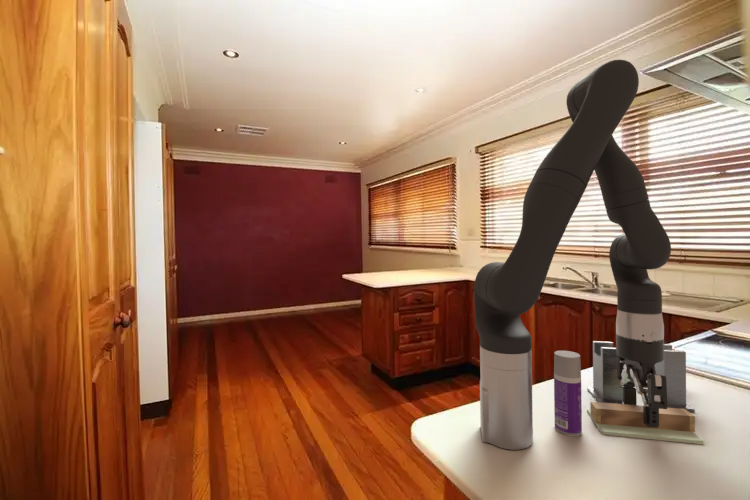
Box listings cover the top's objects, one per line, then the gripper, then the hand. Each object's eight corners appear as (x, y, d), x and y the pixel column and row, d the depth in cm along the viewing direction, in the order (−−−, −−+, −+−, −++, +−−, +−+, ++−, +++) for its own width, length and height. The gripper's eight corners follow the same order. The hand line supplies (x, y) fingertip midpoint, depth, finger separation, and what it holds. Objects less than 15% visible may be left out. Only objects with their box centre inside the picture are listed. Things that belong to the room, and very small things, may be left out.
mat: (603, 434, 67) (603, 431, 67) (586, 412, 75) (586, 409, 75) (703, 444, 63) (703, 440, 63) (674, 419, 71) (674, 416, 71)
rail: (596, 423, 70) (596, 408, 69) (590, 416, 72) (590, 401, 72) (694, 432, 66) (694, 416, 66) (684, 424, 69) (684, 408, 68)
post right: (661, 409, 76) (661, 352, 76) (643, 393, 84) (642, 342, 83) (694, 411, 74) (694, 353, 74) (672, 395, 82) (672, 343, 82)
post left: (599, 404, 79) (599, 349, 78) (587, 389, 86) (586, 339, 86) (630, 406, 77) (629, 350, 77) (614, 391, 85) (614, 340, 85)
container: (585, 437, 66) (584, 358, 66) (558, 435, 67) (557, 357, 66) (576, 424, 70) (575, 350, 70) (551, 422, 71) (550, 349, 71)
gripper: (603, 324, 77) (604, 398, 77) (634, 343, 63) (635, 432, 63) (642, 326, 75) (643, 401, 75) (684, 345, 61) (684, 436, 61)
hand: (639, 415), depth 69 cm, fingers open, 8 cm apart
